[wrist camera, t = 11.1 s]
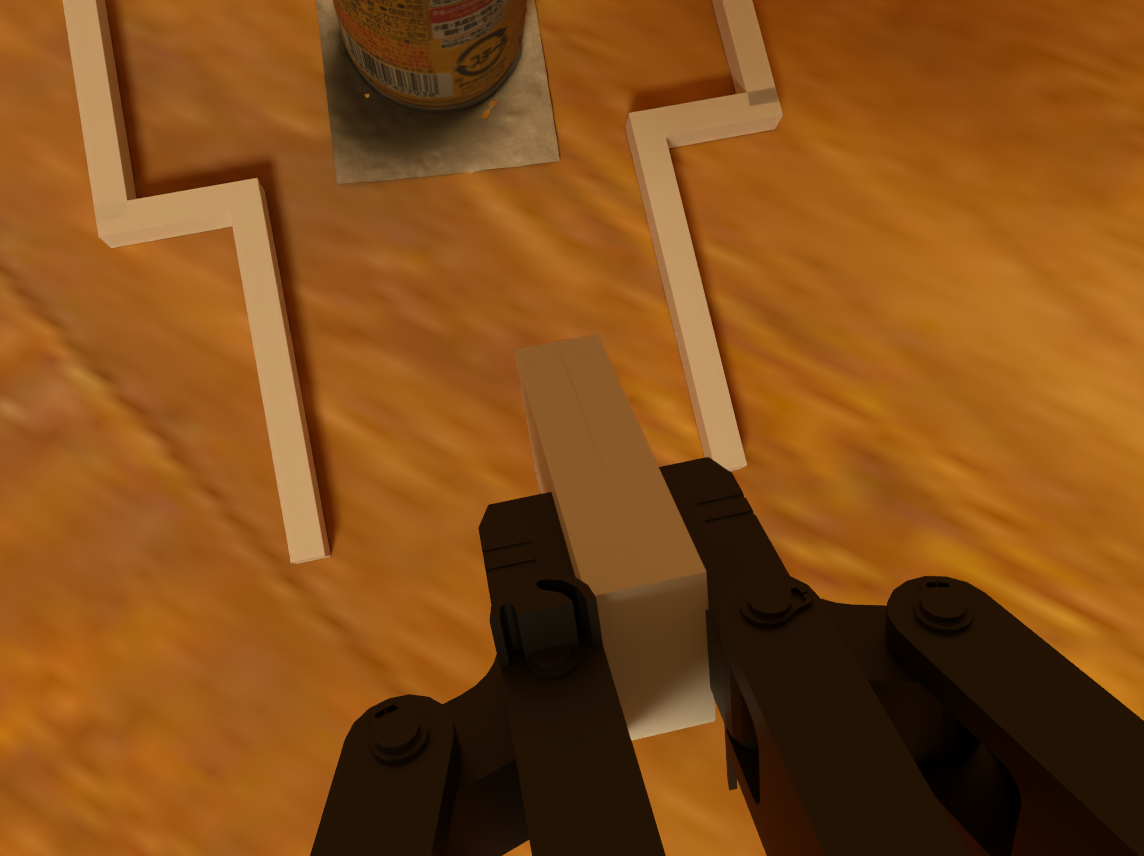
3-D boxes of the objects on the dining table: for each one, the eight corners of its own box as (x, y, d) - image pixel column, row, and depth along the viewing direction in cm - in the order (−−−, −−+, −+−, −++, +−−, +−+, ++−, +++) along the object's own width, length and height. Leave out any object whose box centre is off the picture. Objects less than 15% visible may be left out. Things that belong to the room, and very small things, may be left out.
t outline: (699, -156, 35) (704, -178, 34) (858, 443, 32) (870, 438, 31) (63, -62, 33) (50, -82, 32) (164, 592, 30) (152, 592, 29)
